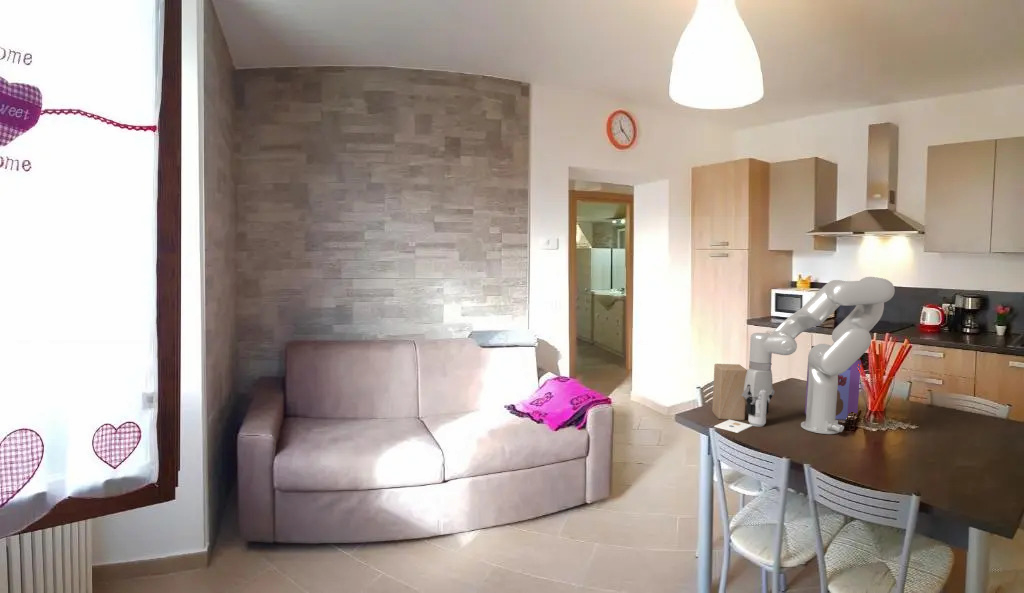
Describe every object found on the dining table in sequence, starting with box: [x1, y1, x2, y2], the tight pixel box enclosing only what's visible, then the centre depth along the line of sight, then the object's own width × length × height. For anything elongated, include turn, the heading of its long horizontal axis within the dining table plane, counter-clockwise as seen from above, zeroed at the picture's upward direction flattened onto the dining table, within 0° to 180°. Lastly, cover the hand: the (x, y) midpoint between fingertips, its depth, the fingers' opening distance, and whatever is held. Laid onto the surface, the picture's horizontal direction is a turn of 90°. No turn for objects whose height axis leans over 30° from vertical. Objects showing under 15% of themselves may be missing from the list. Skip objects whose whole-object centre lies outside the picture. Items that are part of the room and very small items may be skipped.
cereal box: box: [804, 358, 862, 421], centre depth 225 cm, size 17×5×24 cm, turn 76°
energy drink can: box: [747, 389, 767, 427], centre depth 215 cm, size 6×6×15 cm
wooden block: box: [711, 363, 747, 421], centre depth 224 cm, size 10×10×20 cm
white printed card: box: [713, 419, 753, 434], centre depth 213 cm, size 9×12×1 cm
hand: (757, 412), depth 215 cm, fingers closed on energy drink can, 6 cm apart
